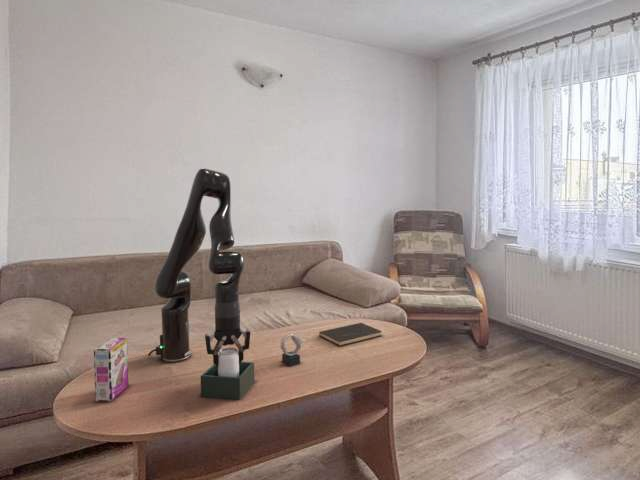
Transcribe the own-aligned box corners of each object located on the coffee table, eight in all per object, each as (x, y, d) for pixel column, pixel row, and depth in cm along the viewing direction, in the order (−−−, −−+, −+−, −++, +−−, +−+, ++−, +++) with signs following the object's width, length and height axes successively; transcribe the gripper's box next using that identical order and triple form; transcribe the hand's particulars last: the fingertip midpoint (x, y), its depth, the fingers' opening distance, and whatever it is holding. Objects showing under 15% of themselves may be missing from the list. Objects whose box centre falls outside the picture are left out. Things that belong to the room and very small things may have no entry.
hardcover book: (381, 336, 197) (381, 331, 197) (339, 346, 183) (339, 341, 183) (360, 326, 210) (360, 322, 209) (319, 336, 195) (319, 331, 195)
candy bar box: (112, 401, 132) (109, 349, 130) (95, 402, 132) (92, 349, 130) (129, 385, 143) (127, 337, 141) (113, 385, 143) (111, 337, 141)
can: (233, 391, 139) (232, 355, 137) (214, 389, 140) (213, 353, 138) (243, 383, 145) (242, 348, 144) (225, 380, 146) (224, 346, 145)
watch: (304, 362, 166) (304, 334, 164) (285, 367, 160) (285, 338, 159) (296, 357, 170) (296, 330, 168) (277, 362, 164) (277, 334, 163)
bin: (200, 396, 137) (200, 375, 136) (218, 379, 149) (218, 360, 148) (240, 399, 136) (239, 378, 135) (254, 381, 148) (254, 362, 147)
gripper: (248, 308, 146) (249, 356, 148) (202, 312, 140) (203, 362, 142) (252, 314, 139) (253, 364, 141) (204, 319, 133) (205, 371, 135)
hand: (228, 363), depth 142 cm, fingers closed on can, 6 cm apart
